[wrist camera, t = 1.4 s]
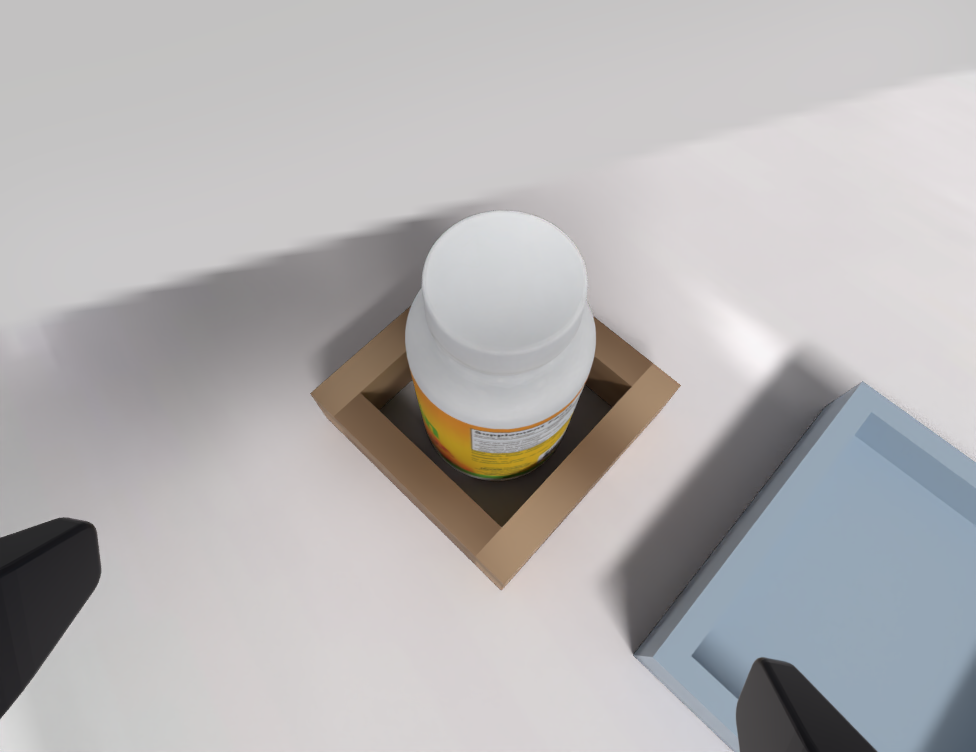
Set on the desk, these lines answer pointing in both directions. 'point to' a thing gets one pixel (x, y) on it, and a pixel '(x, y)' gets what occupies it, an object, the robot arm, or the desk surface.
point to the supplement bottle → (500, 342)
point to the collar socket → (488, 545)
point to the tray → (843, 585)
